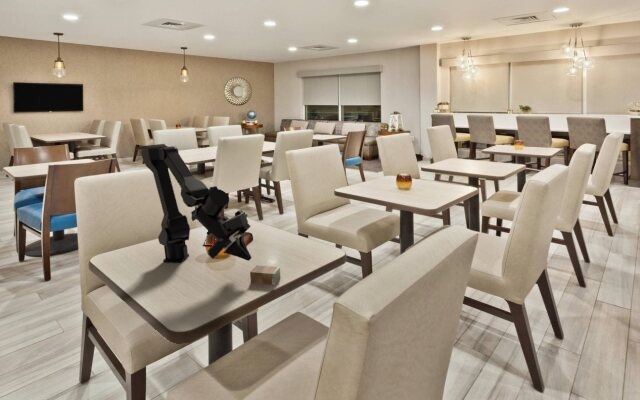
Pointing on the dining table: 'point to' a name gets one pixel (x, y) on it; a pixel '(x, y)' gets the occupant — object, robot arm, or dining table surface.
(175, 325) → the dining table surface
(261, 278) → the walnut block
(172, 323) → the dining table surface
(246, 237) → the sunglasses case
